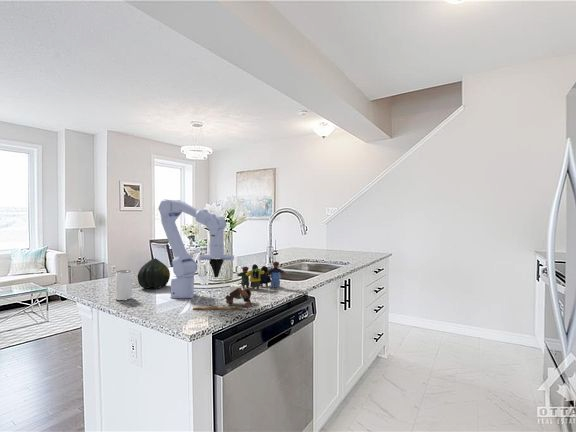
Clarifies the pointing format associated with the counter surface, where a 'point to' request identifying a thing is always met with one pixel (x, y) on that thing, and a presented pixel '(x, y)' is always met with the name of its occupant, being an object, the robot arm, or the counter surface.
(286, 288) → the counter surface
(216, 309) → the counting strip
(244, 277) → the doll family
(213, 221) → the robot arm
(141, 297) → the counter surface
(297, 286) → the counter surface
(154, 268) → the squash
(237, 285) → the die
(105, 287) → the counter surface
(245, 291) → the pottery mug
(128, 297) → the can
